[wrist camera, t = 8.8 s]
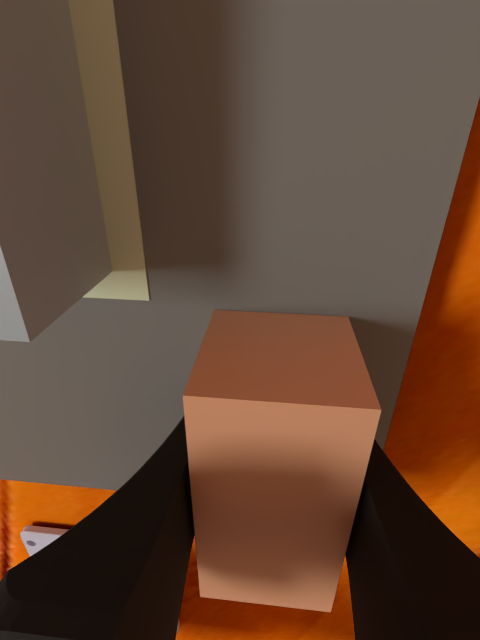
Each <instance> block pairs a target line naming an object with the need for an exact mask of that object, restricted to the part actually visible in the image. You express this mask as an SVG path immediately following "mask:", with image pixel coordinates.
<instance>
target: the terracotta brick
mask: <svg viewBox="0 0 480 640" xmlns="http://www.w3.org/2000/svg"><path fill="white" fill-rule="evenodd" d="M183 406H184V417H185V429H186V440H187V451H188V463H189V474H190V486H191V497H192V509H193V520H194V532H195V543H196V555H197V566H198V578H199V589H200V597H205V598H214V599H222V600H230V601H239V602H247V603H256V604H264V605H273V606H281V607H289V608H298V609H306V610H315V611H323V612H331V609H332V605H333V602H334V598H335V594H336V590H337V586H338V582H339V578H340V574H341V570H342V566H343V562H344V558H345V554H346V550H347V546H348V542H349V538H350V534H351V530H352V526H353V522H354V518H355V514H356V510H357V506H358V502H359V498H360V494H361V490H362V486H363V482H364V478H365V474H366V470H367V466H368V462H369V458H370V454H371V450H372V446H373V442H374V438H375V434H376V430H377V426H378V422H379V418H380V414H381V407H380V404H379V401H378V399H377V396H376V393H375V390H374V387H373V385H372V382H371V379H370V376H369V373H368V370H367V368H366V365H365V362H364V359H363V356H362V354H361V351H360V348H359V345H358V342H357V340H356V337H355V334H354V331H353V328H352V326H351V323H350V320H349V317H347V316H327V315H307V314H288V313H268V312H248V311H229V310H214V311H213V314H212V317H211V319H210V322H209V325H208V328H207V330H206V333H205V336H204V339H203V341H202V344H201V347H200V349H199V352H198V355H197V358H196V360H195V363H194V366H193V369H192V371H191V374H190V377H189V380H188V382H187V385H186V388H185V391H184V393H183Z"/></svg>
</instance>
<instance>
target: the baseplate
mask: <svg viewBox="0 0 480 640" xmlns="http://www.w3.org/2000/svg"><path fill="white" fill-rule="evenodd" d="M68 3H69V9H70V16H71V22H72V28H73V34H74V40H75V46H76V52H77V58H78V64H79V70H80V77H81V83H82V89H83V95H84V101H85V107H86V113H87V119H88V125H89V132H90V138H91V144H92V150H93V156H94V162H95V168H96V174H97V180H98V186H99V193H100V199H101V205H102V211H103V217H104V223H105V229H106V235H107V241H108V248H109V254H110V260H111V266H112V272H111V273H110V274H109V275H108V276H106V277H105V278H104V279H103V280H102V281H101V282H99V283H98V284H97V285H96V286H95V287H94V288H92V289H91V290H90V291H89V292H88V293H87V294H85V295H84V296H83V297H82V298H81V299H80V300H79V301H77V302H76V303H75V304H74V305H73V306H72V307H70V308H69V309H68V310H67V311H66V312H65V313H63V314H62V315H61V316H60V317H59V318H58V319H56V320H55V321H54V322H53V323H52V324H51V325H49V326H48V327H47V328H46V329H45V330H44V331H42V332H41V333H40V334H39V335H38V336H37V337H35V338H34V339H33V340H32V341H31V342H21V341H5V340H0V479H5V480H15V481H26V482H36V483H46V484H57V485H67V486H78V487H88V488H99V489H109V490H118V489H119V488H120V487H122V486H123V485H124V484H125V483H126V482H127V481H128V480H129V479H130V478H131V477H132V476H133V475H134V474H135V473H136V472H137V471H138V470H139V469H140V468H141V467H142V466H143V465H144V464H145V462H146V461H147V460H148V459H149V458H150V457H151V456H152V455H153V454H154V452H155V451H156V450H157V449H158V448H159V447H160V446H161V444H162V443H163V442H164V441H165V440H166V438H167V437H168V436H169V435H170V433H171V432H172V431H173V430H174V428H175V427H176V426H177V424H178V423H179V422H180V420H181V419H182V418H183V416H184V406H183V393H184V391H185V388H186V385H187V382H188V380H189V377H190V374H191V371H192V369H193V366H194V363H195V360H196V358H197V355H198V352H199V349H200V347H201V344H202V341H203V339H204V336H205V333H206V330H207V328H208V325H209V322H210V319H211V317H212V314H213V311H214V310H229V311H248V312H268V313H288V314H307V315H327V316H347V317H349V320H350V323H351V326H352V328H353V331H354V334H355V337H356V340H357V342H358V345H359V348H360V351H361V354H362V356H363V359H364V362H365V365H366V368H367V370H368V373H369V376H370V379H371V382H372V385H373V387H374V390H375V393H376V396H377V399H378V401H379V404H380V407H381V414H380V418H379V422H378V426H377V430H376V434H375V440H376V441H377V443H378V444H379V446H380V447H381V449H382V450H384V446H385V442H386V439H387V435H388V431H389V428H390V424H391V420H392V417H393V413H394V409H395V406H396V402H397V398H398V395H399V391H400V387H401V384H402V380H403V376H404V373H405V369H406V365H407V362H408V358H409V354H410V351H411V347H412V343H413V340H414V336H415V332H416V329H417V325H418V321H419V318H420V314H421V310H422V307H423V303H424V299H425V296H426V292H427V288H428V285H429V281H430V277H431V274H432V270H433V266H434V263H435V259H436V255H437V252H438V248H439V244H440V241H441V237H442V233H443V230H444V226H445V222H446V219H447V215H448V211H449V208H450V204H451V200H452V197H453V193H454V189H455V186H456V182H457V178H458V175H459V171H460V167H461V164H462V160H463V156H464V153H465V149H466V145H467V142H468V138H469V134H470V131H471V127H472V123H473V120H474V116H475V112H476V109H477V105H478V101H479V98H480V0H68Z"/></svg>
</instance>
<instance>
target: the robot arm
mask: <svg viewBox="0 0 480 640" xmlns="http://www.w3.org/2000/svg"><path fill="white" fill-rule="evenodd" d="M20 536H21V539H22V541H23V543H24V545H25V547H26V549H27V551H28V554H29V556H30V557H29V558H27V559H26V560H24V561H23V562H21V563H20V564H18V565H17V566H15V567H13V568H12V569H10V570H8V571H7V573H6V574H5V576H4V577H3V579H2V580H1V581H0V640H175V639H176V633H177V632H178V631H179V626H180V622H179V614H180V608H181V603H182V597H183V591H184V585H185V580H186V574H187V568H188V563H189V557H190V552H191V548H192V544H193V539H194V536H195V532H194V520H193V509H192V497H191V486H190V474H189V463H188V451H187V440H186V429H185V417H184V416H183V418H182V419H181V420H180V422H179V423H178V424H177V426H176V427H175V428H174V430H173V431H172V432H171V433H170V435H169V436H168V437H167V438H166V440H165V441H164V442H163V443H162V444H161V446H160V447H159V448H158V449H157V450H156V451H155V452H154V454H153V455H152V456H151V457H150V458H149V459H148V460H147V461H146V462H145V464H144V465H143V466H142V467H141V468H140V469H139V470H138V471H137V472H136V473H135V474H134V475H133V476H132V477H131V478H130V479H129V480H128V481H127V482H126V483H125V484H124V485H123V486H122V487H120V488H119V489H118V490H117V491H116V492H115V493H114V494H113V495H112V496H110V497H109V498H108V499H107V500H106V501H105V502H104V503H102V504H101V505H100V506H99V507H98V508H96V509H95V510H94V511H93V512H92V513H90V514H89V515H88V516H87V517H85V518H84V519H83V520H81V521H80V522H79V523H77V524H76V525H75V526H73V527H72V528H71V529H60V528H50V527H41V526H31V525H30V526H25V527H24V529H23V530H22V532H21V533H20ZM345 555H346V561H347V567H348V574H349V583H350V592H351V601H352V610H353V620H354V630H355V640H480V558H479V557H478V556H477V555H476V554H474V553H473V552H472V551H471V550H470V549H469V548H468V547H467V546H466V545H465V544H464V543H463V542H462V541H461V540H459V539H458V538H457V537H456V536H455V535H454V534H453V533H452V532H451V531H450V530H449V529H448V528H447V527H446V526H445V525H444V524H443V523H442V522H441V520H440V519H439V518H438V517H437V516H436V515H435V514H434V513H433V512H432V511H431V510H430V509H429V508H428V506H427V505H426V504H425V503H424V502H423V501H422V500H421V498H420V497H419V496H418V495H417V494H416V493H415V491H414V490H413V489H412V488H411V487H410V485H409V484H408V483H407V482H406V480H405V479H404V478H403V477H402V475H401V474H400V473H399V472H398V470H397V469H396V468H395V466H394V465H393V464H392V462H391V461H390V460H389V458H388V457H387V456H386V454H385V453H384V451H383V450H382V449H381V447H380V446H379V444H378V443H377V441H376V440H375V438H374V442H373V446H372V450H371V454H370V458H369V462H368V466H367V470H366V474H365V478H364V482H363V486H362V490H361V494H360V498H359V502H358V506H357V510H356V514H355V518H354V522H353V526H352V530H351V534H350V538H349V542H348V546H347V550H346V554H345Z"/></svg>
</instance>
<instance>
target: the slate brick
mask: <svg viewBox="0 0 480 640" xmlns="http://www.w3.org/2000/svg"><path fill="white" fill-rule="evenodd" d="M111 272H112V266H111V260H110V254H109V248H108V241H107V235H106V229H105V223H104V217H103V211H102V205H101V199H100V193H99V186H98V180H97V174H96V168H95V162H94V156H93V150H92V144H91V138H90V132H89V125H88V119H87V113H86V107H85V101H84V95H83V89H82V83H81V77H80V70H79V64H78V58H77V52H76V46H75V40H74V34H73V28H72V22H71V16H70V9H69V3H68V0H0V340H5V341H21V342H31V341H32V340H33V339H34V338H35V337H37V336H38V335H39V334H40V333H41V332H42V331H44V330H45V329H46V328H47V327H48V326H49V325H51V324H52V323H53V322H54V321H55V320H56V319H58V318H59V317H60V316H61V315H62V314H63V313H65V312H66V311H67V310H68V309H69V308H70V307H72V306H73V305H74V304H75V303H76V302H77V301H79V300H80V299H81V298H82V297H83V296H84V295H85V294H87V293H88V292H89V291H90V290H91V289H92V288H94V287H95V286H96V285H97V284H98V283H99V282H101V281H102V280H103V279H104V278H105V277H106V276H108V275H109V274H110V273H111Z"/></svg>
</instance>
